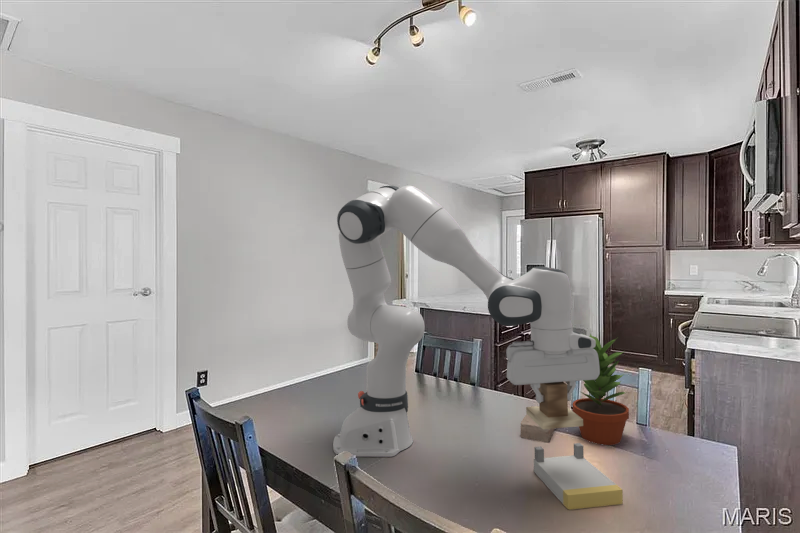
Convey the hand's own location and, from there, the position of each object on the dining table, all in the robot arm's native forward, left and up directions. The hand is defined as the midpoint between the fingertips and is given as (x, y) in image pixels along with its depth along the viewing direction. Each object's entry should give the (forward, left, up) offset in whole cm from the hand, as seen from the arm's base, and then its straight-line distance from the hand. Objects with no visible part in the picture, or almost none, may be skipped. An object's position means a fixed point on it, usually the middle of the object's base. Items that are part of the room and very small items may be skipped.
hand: (553, 401), depth 95 cm
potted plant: (+25, +22, -20) cm, 39 cm away
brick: (+11, +30, -20) cm, 38 cm away
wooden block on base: (0, 0, -4) cm, 4 cm away
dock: (+4, -1, -19) cm, 20 cm away
